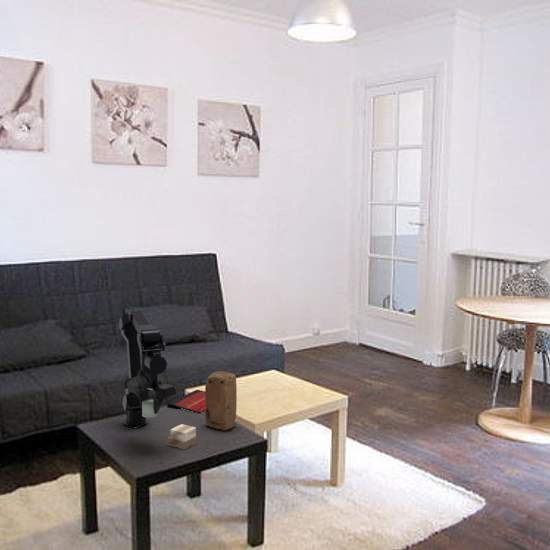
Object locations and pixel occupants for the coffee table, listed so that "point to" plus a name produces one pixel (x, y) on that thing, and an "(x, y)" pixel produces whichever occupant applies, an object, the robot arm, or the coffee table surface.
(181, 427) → the tower top
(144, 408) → the pale green cube
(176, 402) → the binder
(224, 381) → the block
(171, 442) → the tower base
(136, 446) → the coffee table surface
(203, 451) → the coffee table surface
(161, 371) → the robot arm
